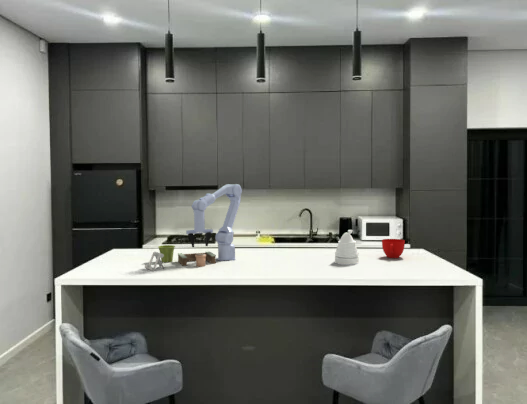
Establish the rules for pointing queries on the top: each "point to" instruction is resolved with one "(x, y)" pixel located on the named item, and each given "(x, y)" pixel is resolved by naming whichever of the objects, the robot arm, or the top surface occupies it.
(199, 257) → the seedling pot
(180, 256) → the green brown u-shaped frame
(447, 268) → the top surface
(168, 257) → the plant pot
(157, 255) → the portable electronic device stand
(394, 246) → the ceramic cup
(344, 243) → the honey pot
